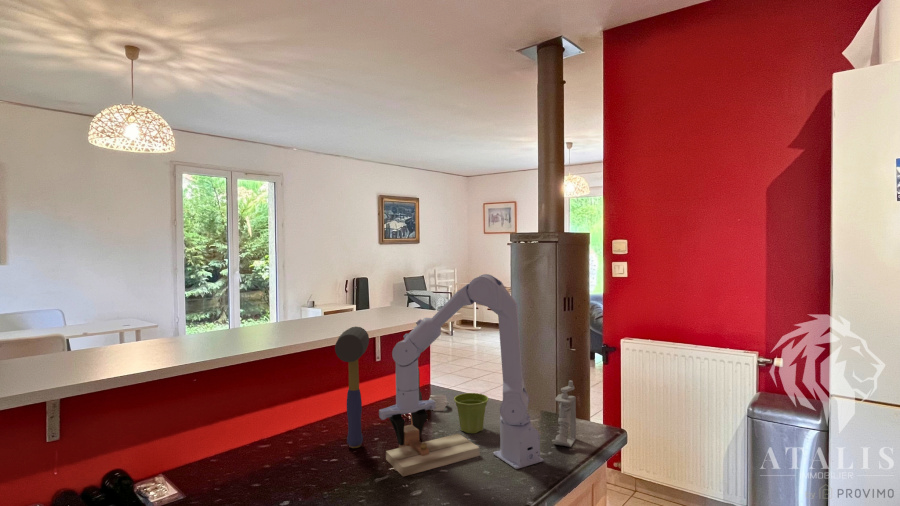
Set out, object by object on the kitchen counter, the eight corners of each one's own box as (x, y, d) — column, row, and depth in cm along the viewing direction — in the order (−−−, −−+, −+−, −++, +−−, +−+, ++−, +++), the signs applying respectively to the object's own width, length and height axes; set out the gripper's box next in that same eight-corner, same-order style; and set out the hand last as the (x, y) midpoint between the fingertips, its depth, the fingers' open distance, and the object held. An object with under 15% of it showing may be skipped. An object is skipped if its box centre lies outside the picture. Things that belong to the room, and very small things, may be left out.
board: (479, 455, 117) (479, 447, 117) (402, 476, 107) (402, 467, 107) (458, 441, 125) (458, 433, 125) (386, 459, 116) (385, 450, 116)
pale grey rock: (422, 413, 149) (420, 398, 149) (428, 404, 156) (426, 389, 155) (447, 413, 148) (445, 398, 147) (452, 404, 154) (450, 389, 154)
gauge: (432, 461, 114) (432, 439, 114) (418, 465, 112) (418, 443, 112) (412, 444, 124) (411, 424, 124) (399, 447, 122) (398, 427, 122)
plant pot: (489, 436, 128) (489, 403, 128) (454, 436, 129) (453, 404, 128) (488, 423, 138) (487, 392, 138) (454, 423, 138) (454, 393, 138)
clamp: (550, 449, 120) (549, 388, 119) (560, 435, 128) (559, 378, 128) (567, 452, 118) (566, 390, 117) (576, 437, 126) (576, 380, 126)
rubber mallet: (366, 456, 117) (363, 332, 117) (335, 457, 117) (332, 333, 116) (372, 436, 130) (370, 324, 129) (344, 437, 129) (342, 325, 129)
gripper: (426, 379, 128) (427, 430, 128) (374, 388, 121) (375, 442, 121) (438, 386, 122) (439, 440, 122) (384, 396, 115) (385, 453, 115)
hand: (408, 442), depth 121 cm, fingers closed on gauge, 4 cm apart
